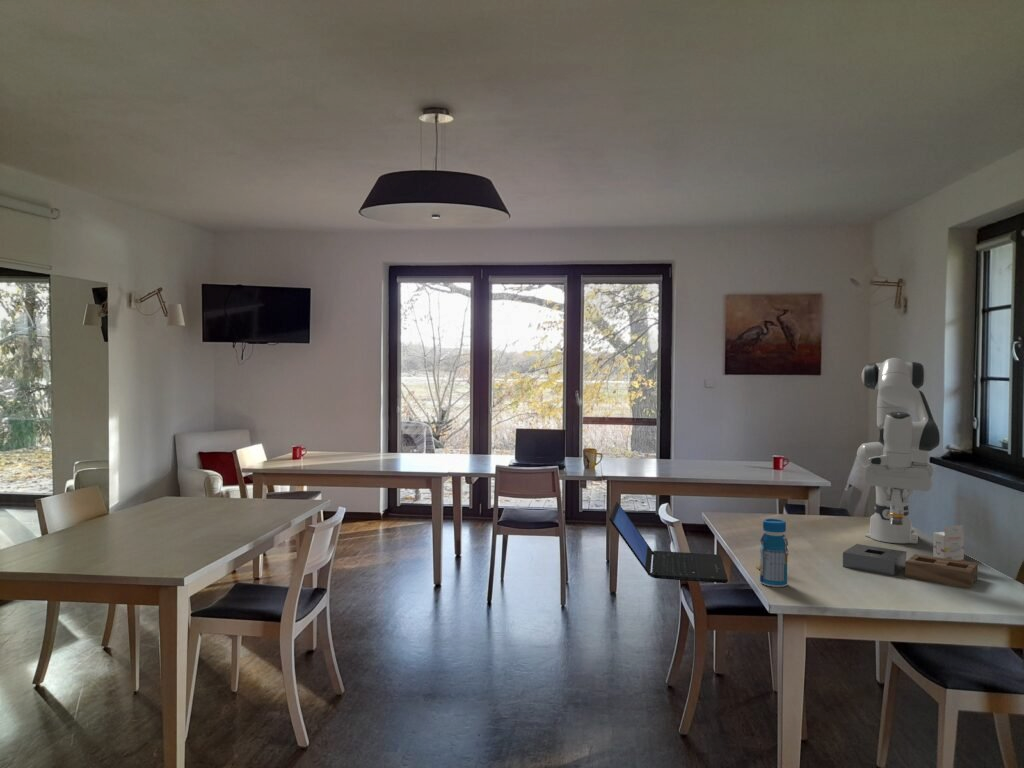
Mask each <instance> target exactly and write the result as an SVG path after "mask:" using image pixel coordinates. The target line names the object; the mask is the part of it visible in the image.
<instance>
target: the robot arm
mask: <svg viewBox="0 0 1024 768" xmlns="http://www.w3.org/2000/svg"><path fill="white" fill-rule="evenodd" d="M926 379H927V373H926V370H925V367H924V365H923V364H922V363H920V362H917V361H916V362H915V361H911V362H907V361H905V360H903V359H902V358H898V357H891V358H888V359H887V358H886V359H885V360H884V361H883V362H877V363H876V362H871V363H868V364H866V365H865V366H864V367H863V370H862V371H861V380H862V383H863V385H864V387H865V388H866V389H869V390H878V392H877V397H876V399H877V401H876V426H877V427H878V430H879V431H878V435H879V437H878V441H873V442H872V441H871V442H865V443H861V445H860V446H859V447H858V448H857V451H856V459H857V462H858V464H859V465H860V466H861V467H863V468H864V478H863V482H864V484H865V485H866V486H870V487H871V486H872V487H873V486H874V487H875V503H874V514H872V515H871V516H870V521H869V532H866V533H865V537H868V538H871V539H872V540H875V541H878V542H883V543H884V542H885V543H890V544H918V542H919V534H918V533H915V530H914V529H913V523H912V519H911V518H910V516H909V515H910V508H909V503H910V497H911V496H912V495H913V493H914V491H921V492H929V491H931V490H932V488H933V482H932V481H933V479H932V476H933V474H934V473H933V472H934V468H933V466H932V465H931V464H928V463H929V461H930V453H929V452H931V451H933V450H934V449H936V448H938V447H939V446H940V442H941V431H940V430H939V428H938V425H937V424H936V422H935V419H934V417H933V414H932V412H931V408H930V406H929V404H928V403H929V402H928V400H927V398H926V396H925V394H924V392H923V391H922V390H920V388H922V387H923V386H924V383H925V381H926ZM909 410H910V411H913V412H914V413H915V414H916V417H917V419H918V421H913V419H912V415H911V414H909ZM890 488H900V489H904V497H903V502H904V518H903V525H893V524H890Z"/></svg>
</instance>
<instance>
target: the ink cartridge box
mask: <svg viewBox="0 0 1024 768" xmlns="http://www.w3.org/2000/svg"><path fill="white" fill-rule="evenodd" d="M943 528H944V531H939V532H938V531H937V532H936V531H935V532H933V535H932V536H933V538H932V539H933V540H932V543H933V544H932V546H933V547H932V548H933V552H932V555H933V557H940V558H946V559H952V560H959V561H965V560H964V559H965V534H964V525H963V524H961V525H946V526H944V527H943ZM953 529H954V530H953Z"/></svg>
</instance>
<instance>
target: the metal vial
mask: <svg viewBox="0 0 1024 768" xmlns="http://www.w3.org/2000/svg"><path fill="white" fill-rule="evenodd" d="M903 497H904V489H900V488H890V524H893V525H903V518H904V502H903Z"/></svg>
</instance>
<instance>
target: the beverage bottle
mask: <svg viewBox="0 0 1024 768" xmlns="http://www.w3.org/2000/svg"><path fill="white" fill-rule="evenodd" d="M762 529H763V532H764V533H763V534H762V536H761V538H760V544H761V545H760V547H759V554H760V559H761V570H759V571H760V575H759V582H760V584H762V585H763V584H764V585H763V586H766V585H767V587H770V586H772V587H771V588H784V587H786V586H787V585H788V555H789V549H788V545H789V541H788V538H787V537H786V535H785V533H786V531H787V530H786V529H787V523H786V521H785V520H783V519H779V518H765V519H763V521H762Z"/></svg>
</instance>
